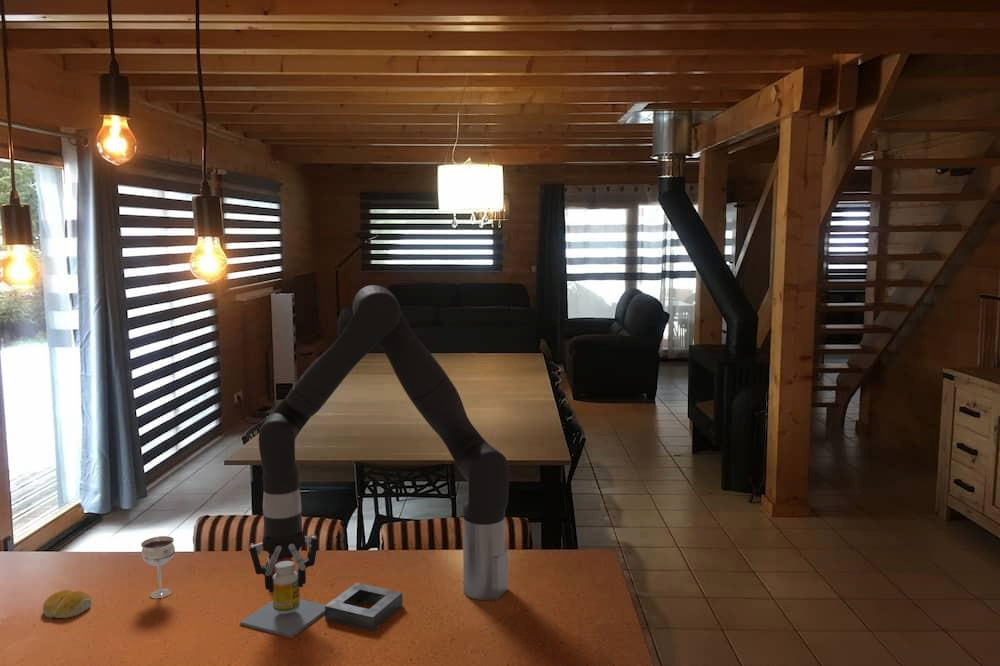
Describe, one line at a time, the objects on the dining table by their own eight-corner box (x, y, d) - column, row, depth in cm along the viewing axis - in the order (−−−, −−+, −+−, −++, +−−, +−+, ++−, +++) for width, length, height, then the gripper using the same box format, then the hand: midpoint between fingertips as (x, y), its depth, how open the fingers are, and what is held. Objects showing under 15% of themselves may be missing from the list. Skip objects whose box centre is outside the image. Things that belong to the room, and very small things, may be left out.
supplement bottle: (276, 602, 166) (274, 559, 164) (302, 601, 166) (300, 558, 164) (270, 614, 160) (268, 570, 159) (296, 614, 160) (294, 570, 159)
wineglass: (137, 598, 171) (133, 545, 170) (160, 584, 178) (157, 534, 176) (161, 603, 169) (158, 550, 167) (184, 589, 175) (181, 538, 174)
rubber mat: (330, 608, 167) (330, 606, 166) (291, 638, 155) (291, 635, 155) (281, 597, 172) (281, 594, 172) (240, 624, 160) (240, 621, 160)
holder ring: (402, 605, 168) (402, 592, 167) (372, 631, 157) (372, 617, 157) (356, 595, 173) (356, 582, 172) (325, 619, 162) (324, 605, 162)
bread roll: (63, 599, 171) (62, 582, 171) (98, 604, 169) (97, 586, 168) (32, 617, 163) (31, 599, 163) (68, 623, 161) (67, 604, 160)
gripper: (246, 521, 154) (250, 602, 156) (320, 511, 159) (323, 590, 162) (244, 508, 161) (248, 586, 163) (315, 499, 166) (318, 575, 168)
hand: (285, 587), depth 162 cm, fingers closed on supplement bottle, 5 cm apart
